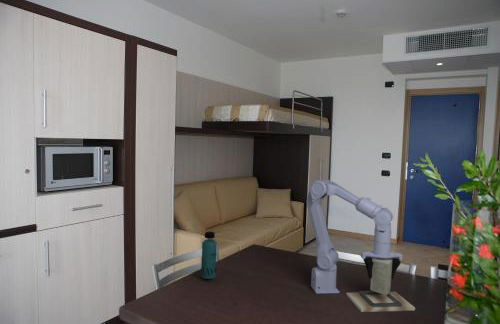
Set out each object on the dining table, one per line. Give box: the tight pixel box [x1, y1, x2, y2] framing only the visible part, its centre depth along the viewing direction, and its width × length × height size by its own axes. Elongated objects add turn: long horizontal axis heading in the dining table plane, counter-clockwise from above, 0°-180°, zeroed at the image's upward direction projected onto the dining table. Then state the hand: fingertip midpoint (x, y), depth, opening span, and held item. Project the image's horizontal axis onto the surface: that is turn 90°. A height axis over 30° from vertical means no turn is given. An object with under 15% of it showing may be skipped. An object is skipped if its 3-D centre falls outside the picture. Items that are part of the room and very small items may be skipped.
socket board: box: [346, 290, 416, 313], centre depth 125 cm, size 20×13×2 cm, turn 96°
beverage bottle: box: [200, 231, 218, 280], centre depth 141 cm, size 6×7×20 cm
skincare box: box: [369, 258, 392, 295], centre depth 124 cm, size 6×4×12 cm
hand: (380, 277), depth 124 cm, fingers closed on skincare box, 7 cm apart
